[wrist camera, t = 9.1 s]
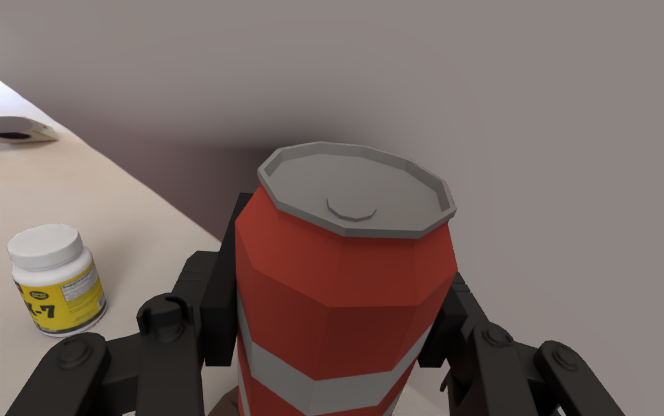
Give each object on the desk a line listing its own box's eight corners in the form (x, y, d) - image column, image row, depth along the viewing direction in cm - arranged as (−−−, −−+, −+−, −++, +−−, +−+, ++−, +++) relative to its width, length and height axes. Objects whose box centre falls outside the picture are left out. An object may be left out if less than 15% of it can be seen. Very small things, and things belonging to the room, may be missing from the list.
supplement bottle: (23, 324, 26) (-19, 243, 21) (82, 287, 30) (56, 213, 25) (64, 348, 24) (28, 268, 20) (120, 307, 28) (99, 232, 24)
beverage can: (214, 477, 12) (182, 210, 6) (270, 337, 17) (283, 124, 11) (371, 521, 11) (513, 282, 5) (377, 363, 17) (451, 156, 11)
